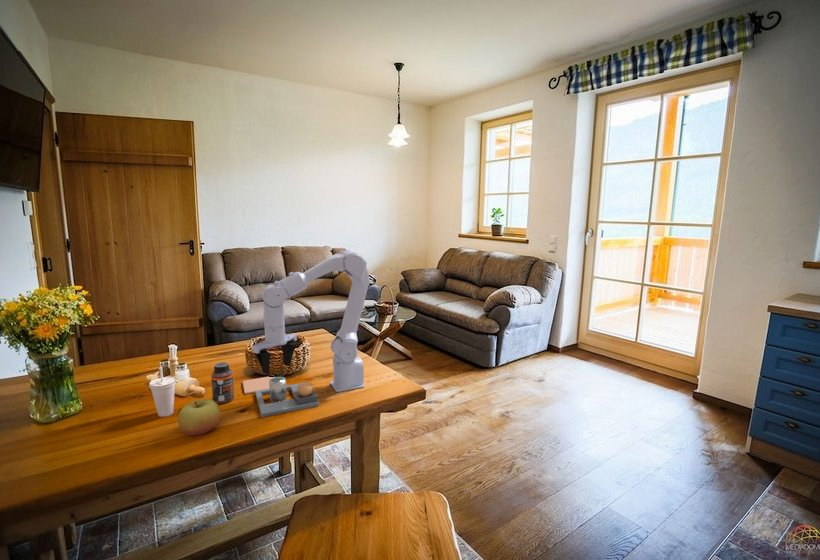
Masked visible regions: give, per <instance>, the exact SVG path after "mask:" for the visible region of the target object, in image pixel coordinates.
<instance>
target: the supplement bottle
mask: <svg viewBox="0 0 820 560" xmlns="http://www.w3.org/2000/svg"><path fill="white" fill-rule="evenodd" d="M210 378H211V392H212V394H211V395H212V400H213V401H214V402H215V403H216V404H217V405H221V404H226V403H230V402H232V401H233V400H234V398H235V388H234V387H235V386H234V385H235V384H234V372H233V370H232V369H231V368H230V363H229V362H217V363H215V364H214V365H213V371H212V372H211V375H210Z"/></svg>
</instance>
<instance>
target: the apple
mask: <svg viewBox="0 0 820 560" xmlns="http://www.w3.org/2000/svg"><path fill="white" fill-rule="evenodd" d="M220 420H221V410H220V406H219V404H218V403H215V402H214V401H213V399H209V398H207V399H205V398H204V399H196V400H194V401H191V402H189V403H187V404H185V405H183V407H182V408H181V410H180V411H179V413H178V416H177V422H178V426H179V429H180V430H181V431H182V432H183V433H185V434H187V435H189V436H201V435H204V434H207V433H210V432H211V431H212V430H213V429H214V428H215V427H216V426H217V425H218V423H219V421H220Z"/></svg>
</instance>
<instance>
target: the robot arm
mask: <svg viewBox="0 0 820 560" xmlns="http://www.w3.org/2000/svg"><path fill="white" fill-rule="evenodd" d="M333 271H334V272H344V273H346V275H347V276H348V278H349V279H350V281H351V286H350V291H349V295H348V297H347V300H346V301H347V302H346V306H345V311H344V313H343V314H344V315H343V318H342V321H341V326H340V329H338V331H337V332H336V335H335V337H334V339H332V341H331V344H330V348H331V352H332V353H334V355H333V358H332V366H333V369H332V371H333V374H332V375H333V380H331V381H329V383H330V385H331V386H332V388H333V390H335V392H336V393H339V392H340V393H341V392H346V391H349V390H350V391H351V390H354V389H355V390H357V389H361V388H364V387H365V380H364V378H365V377H364V373H365V371H364V363H363V360H362V358H361V356H359V357H358V354H359V353H358V352H359V350H358V342H359V340H358V336H357V335H358V334H357V331H358V329H359V324H360V320H361V316H362V313H363V310H364V309H363V308H364V304H365V300H366V297H367V293H368V288H369V285H370V282H371V281H370V279H371V278H370V276H369V271H368V267H367V261H366V259H364V257H363V256H362V255H361V254H360V253H359V252H353V251H350V250H347V249H345V250H341V251H339V253H335V254H332V255H331V256H329V257H327V258H326V259H324V260H322V261H321V262H319V263H318V264H315V265H314V266H313V267H311V268H309V269H307V270H306V271H303V272H299V271H296V272H293V271H291V272H289V273H288V275H287V276H286V277H284V278H282V279H280V280H275V281H274V282H273V283H274V284H268V285H266V286H265V287H264V288H263V289H262V291H261V294H260V296H261V299H262V301H263V325H264V339H263V340H262V341H261V342H258V343H256V344H253V345H251V348H252V353H253V355H254V356H255V357H256V359H257V361H258V363H259V365H260V368H261V370H262V373H263V374H265V375H269V374H270V373H271V370H270V364H271V363H270V362H271V361H270V360H271V356H272V353H271V352H269V351H268V350H269V349H271V348H276V347H279V346H280V347H281V351H282V358H283V359H282V360H283V365H284V366H286V367H290V366H291V362H292V358H293V354H294V352H295V350H296V348H297V346H298V343H297V342H296V341H297V340H298V336H297V334H296V333H290V334H286V327H285V326H286V325H285V310H284V303H285V301H286V300H287V299H289V298H292V297H293V296H295V295H296V294H298V293H300V292H302V291H304V290H305V289H307V287H308V286H309V283H310V282H312V281H314V280H316V279H319V278H321V277H323V276H324V275H327V274H329V273H331V272H333Z"/></svg>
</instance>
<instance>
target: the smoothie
mask: <svg viewBox="0 0 820 560" xmlns="http://www.w3.org/2000/svg"><path fill="white" fill-rule="evenodd" d="M163 373H164V372H163V367H162V366H159V374H160V376H159V378H156V379H153V380H151V381H150V382H149V384H148V388H149V389H151V394H152V397H153V400H154V405H155V408H156V412H157V415H158V417H161V418H163V417H164V418H165V417H168V416H171V415H173V414H174V410H175V408H174V406H175V405H174V404H175V386H176V385H175V384H177V380H176V377H173V376H164V374H163Z"/></svg>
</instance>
